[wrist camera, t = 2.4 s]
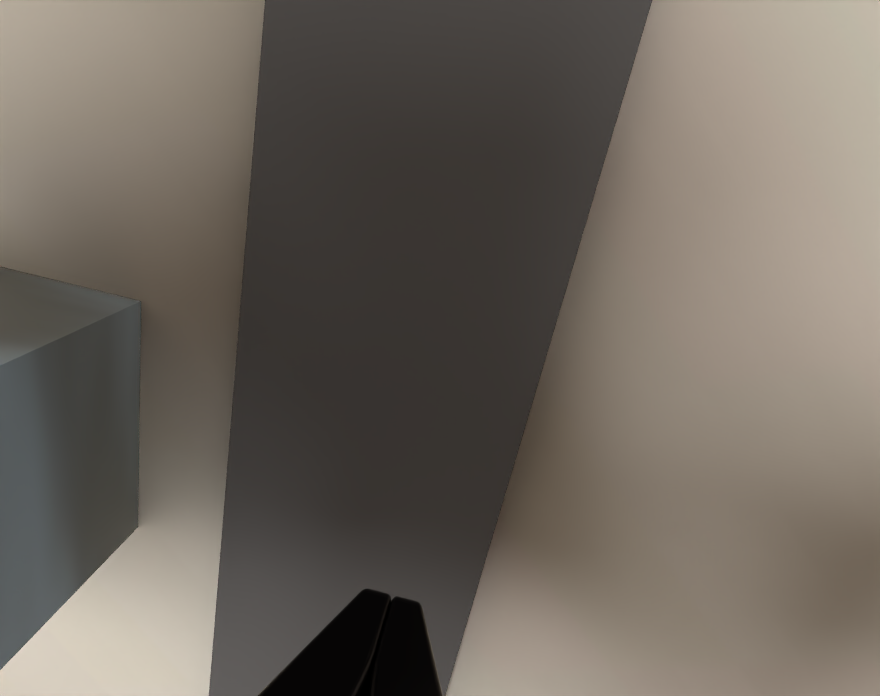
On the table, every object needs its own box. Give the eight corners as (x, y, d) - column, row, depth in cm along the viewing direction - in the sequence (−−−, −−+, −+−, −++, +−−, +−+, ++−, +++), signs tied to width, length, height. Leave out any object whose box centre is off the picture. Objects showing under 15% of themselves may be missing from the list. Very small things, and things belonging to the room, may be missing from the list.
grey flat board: (661, -46, 8) (668, -55, 7) (407, 813, 14) (404, 832, 14) (288, -122, 8) (276, -135, 7) (210, 758, 14) (202, 774, 14)
